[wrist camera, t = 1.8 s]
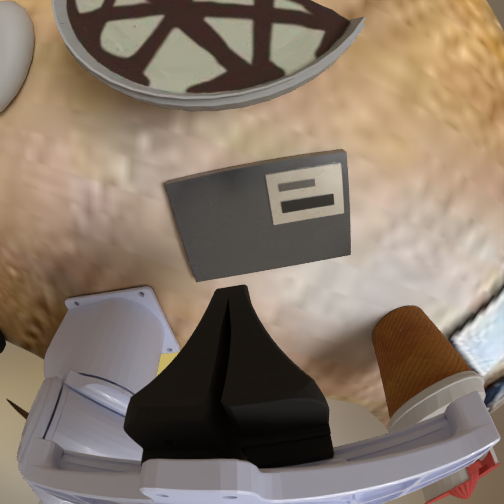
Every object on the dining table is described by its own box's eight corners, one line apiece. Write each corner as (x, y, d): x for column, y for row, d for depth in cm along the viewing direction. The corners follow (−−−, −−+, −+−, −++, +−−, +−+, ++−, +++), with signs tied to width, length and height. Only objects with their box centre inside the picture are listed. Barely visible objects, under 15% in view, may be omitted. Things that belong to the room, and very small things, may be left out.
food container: (97, 69, 15) (-1, 74, 7) (135, -12, 13) (61, -65, 4) (268, 131, 19) (297, 176, 10) (311, 50, 16) (379, 26, 7)
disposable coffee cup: (399, 279, 25) (462, 384, 15) (450, 307, 28) (502, 390, 18) (338, 347, 30) (369, 451, 19) (396, 363, 32) (429, 446, 22)
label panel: (197, 276, 24) (195, 284, 23) (167, 180, 20) (163, 186, 19) (347, 249, 23) (351, 256, 22) (342, 149, 19) (347, 153, 18)
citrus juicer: (487, 380, 40) (526, 461, 23) (451, 423, 49) (477, 493, 32) (423, 404, 40) (459, 503, 23) (393, 444, 49) (415, 522, 32)
